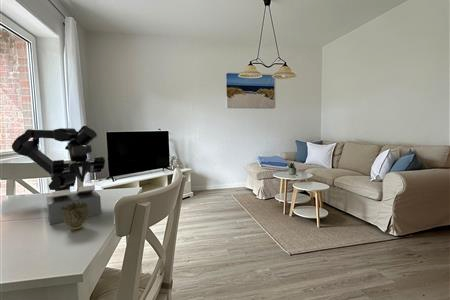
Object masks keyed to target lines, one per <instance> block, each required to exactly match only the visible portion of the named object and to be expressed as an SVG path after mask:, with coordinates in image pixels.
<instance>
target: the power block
mask: <svg viewBox="0 0 450 300" xmlns="http://www.w3.org/2000/svg"><path fill="white" fill-rule="evenodd" d="M79 202H80V205H81V203H82V202H83V203H85V202H86V204H87V203H88V216H87V218H88V217H92V216H97V215H101V214H102V203H101V195H100V194H99V193H98V192H97V191H96V190H93V192H86V193H80V194H77V192H70V194H69V195H67V196H60V197H52V195H51V196H46V208H47V218H48V222H49V225H54V224H59V223H65V222H64V219H63V215H62V210H61V207H62V206H64V208H65V207H67V204H70V205H71V204H72V203H76V204H77V203H79Z"/></svg>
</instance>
